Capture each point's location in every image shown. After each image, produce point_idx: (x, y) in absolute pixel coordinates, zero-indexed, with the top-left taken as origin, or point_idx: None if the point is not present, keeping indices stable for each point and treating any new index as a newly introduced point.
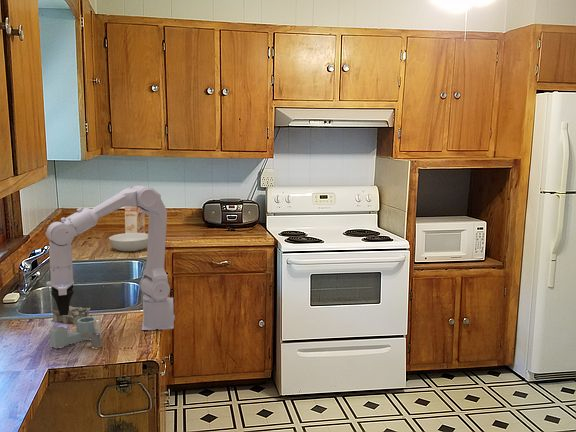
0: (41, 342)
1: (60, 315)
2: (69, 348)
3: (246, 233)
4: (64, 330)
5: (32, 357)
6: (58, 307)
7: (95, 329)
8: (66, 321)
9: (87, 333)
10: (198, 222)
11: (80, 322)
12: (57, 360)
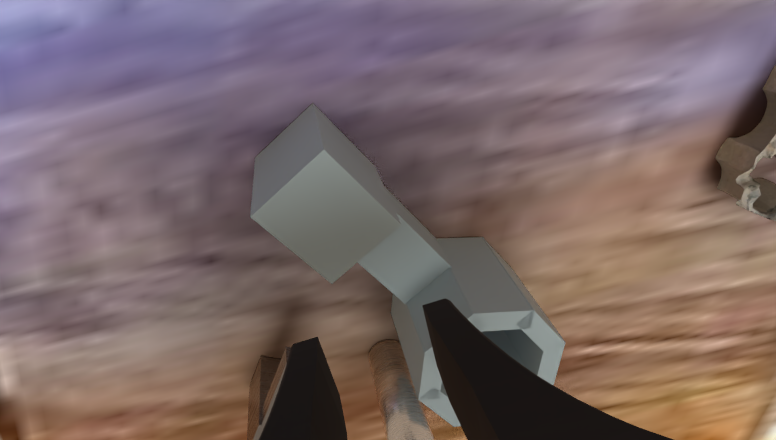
0: (413, 4)
1: (290, 350)
2: None
3: None
4: (315, 266)
5: (96, 22)
6: (268, 425)
7: (384, 408)
8: (771, 91)
9: None
10: None
11: None
12: (58, 221)
